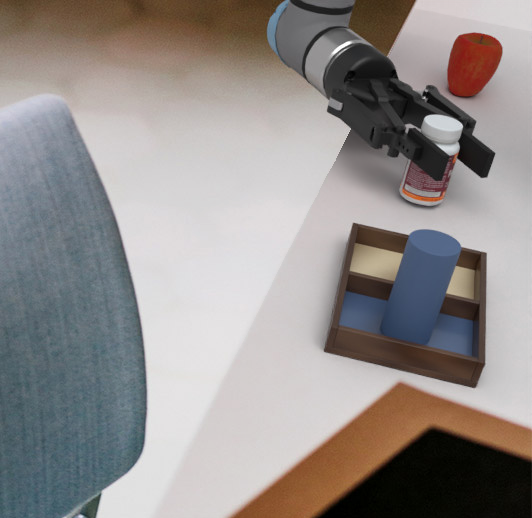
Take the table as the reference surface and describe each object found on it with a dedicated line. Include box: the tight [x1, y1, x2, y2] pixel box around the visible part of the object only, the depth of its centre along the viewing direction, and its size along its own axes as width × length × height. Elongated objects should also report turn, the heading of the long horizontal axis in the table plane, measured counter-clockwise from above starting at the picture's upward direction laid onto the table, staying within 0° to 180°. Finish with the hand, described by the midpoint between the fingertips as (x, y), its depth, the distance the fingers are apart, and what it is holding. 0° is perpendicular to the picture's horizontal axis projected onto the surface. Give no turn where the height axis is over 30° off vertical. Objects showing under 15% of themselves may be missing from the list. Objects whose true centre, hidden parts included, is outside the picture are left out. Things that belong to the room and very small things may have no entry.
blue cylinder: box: [381, 228, 462, 345], centre depth 102 cm, size 4×4×9 cm
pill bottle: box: [398, 115, 463, 207], centre depth 124 cm, size 5×5×8 cm
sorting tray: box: [323, 222, 488, 389], centre depth 108 cm, size 13×20×3 cm, turn 164°
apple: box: [446, 32, 504, 97], centre depth 150 cm, size 6×6×8 cm
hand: (465, 166), depth 120 cm, fingers closed on pill bottle, 5 cm apart
